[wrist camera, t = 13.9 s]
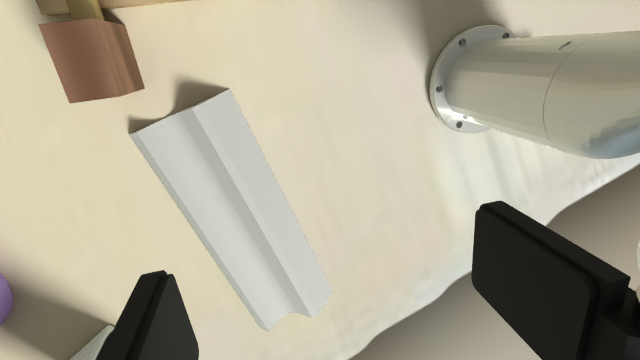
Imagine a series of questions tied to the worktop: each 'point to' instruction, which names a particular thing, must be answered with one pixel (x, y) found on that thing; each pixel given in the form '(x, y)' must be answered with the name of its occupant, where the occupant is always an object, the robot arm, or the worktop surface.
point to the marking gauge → (92, 54)
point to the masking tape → (5, 298)
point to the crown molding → (236, 207)
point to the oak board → (54, 4)
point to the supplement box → (93, 345)
